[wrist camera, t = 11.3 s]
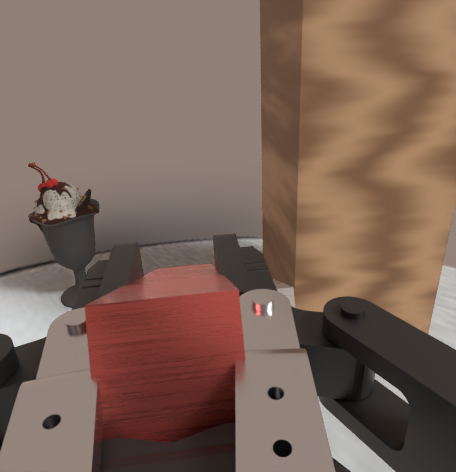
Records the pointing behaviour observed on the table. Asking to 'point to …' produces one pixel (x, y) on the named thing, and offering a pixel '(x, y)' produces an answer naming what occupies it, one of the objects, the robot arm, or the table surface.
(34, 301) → the table surface
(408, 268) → the stand
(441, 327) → the table surface
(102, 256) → the table surface
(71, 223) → the sundae
